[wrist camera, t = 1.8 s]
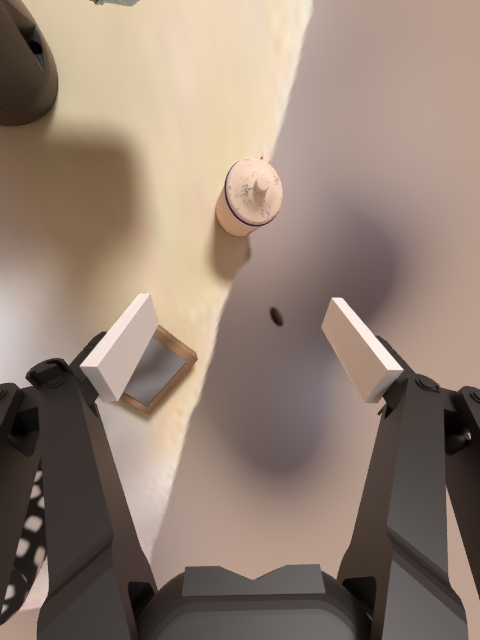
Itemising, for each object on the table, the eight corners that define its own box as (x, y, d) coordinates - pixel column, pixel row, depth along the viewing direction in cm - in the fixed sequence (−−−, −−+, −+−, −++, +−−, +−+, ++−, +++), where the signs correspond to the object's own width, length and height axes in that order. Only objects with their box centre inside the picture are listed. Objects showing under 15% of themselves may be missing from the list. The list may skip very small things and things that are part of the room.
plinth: (88, 366, 34) (77, 376, 30) (140, 310, 35) (135, 313, 31) (151, 403, 39) (148, 416, 35) (196, 353, 40) (197, 360, 36)
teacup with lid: (249, 246, 39) (277, 232, 28) (206, 223, 36) (219, 196, 25) (273, 188, 38) (311, 150, 27) (231, 159, 35) (256, 103, 24)
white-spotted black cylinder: (36, 439, 34) (-140, 633, 15) (77, 405, 35) (-41, 548, 16) (77, 463, 37) (-28, 653, 18) (114, 431, 38) (51, 579, 19)
